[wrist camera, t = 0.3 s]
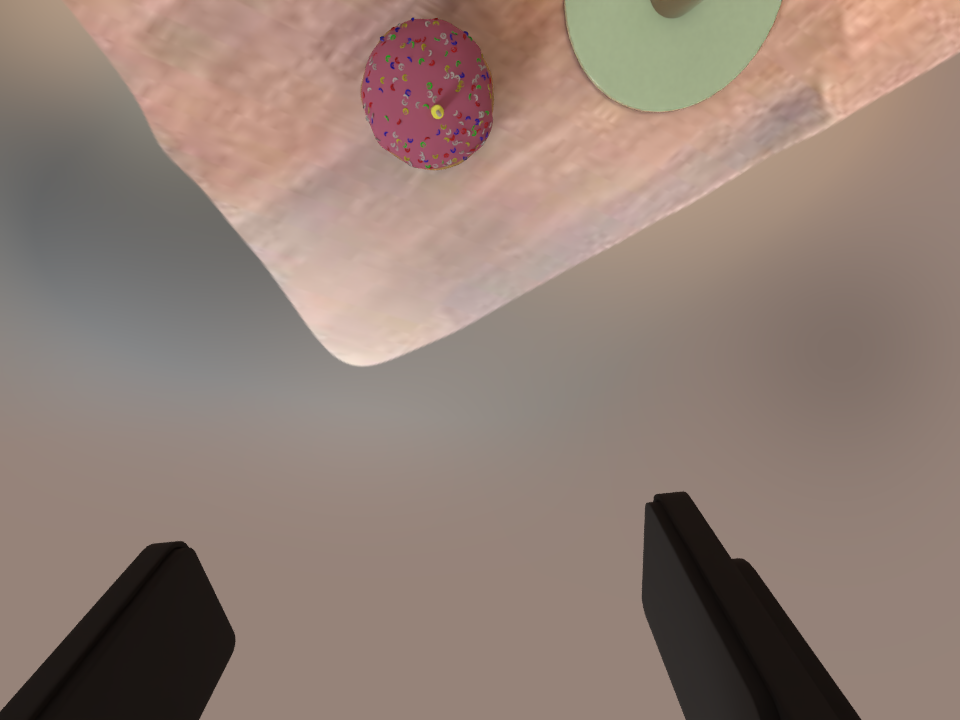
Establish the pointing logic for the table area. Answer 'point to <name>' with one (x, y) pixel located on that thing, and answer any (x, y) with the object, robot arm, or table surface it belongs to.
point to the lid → (666, 46)
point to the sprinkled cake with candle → (428, 94)
